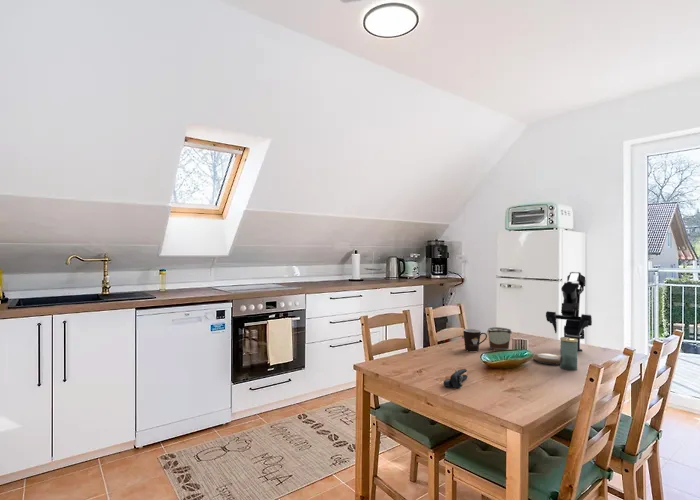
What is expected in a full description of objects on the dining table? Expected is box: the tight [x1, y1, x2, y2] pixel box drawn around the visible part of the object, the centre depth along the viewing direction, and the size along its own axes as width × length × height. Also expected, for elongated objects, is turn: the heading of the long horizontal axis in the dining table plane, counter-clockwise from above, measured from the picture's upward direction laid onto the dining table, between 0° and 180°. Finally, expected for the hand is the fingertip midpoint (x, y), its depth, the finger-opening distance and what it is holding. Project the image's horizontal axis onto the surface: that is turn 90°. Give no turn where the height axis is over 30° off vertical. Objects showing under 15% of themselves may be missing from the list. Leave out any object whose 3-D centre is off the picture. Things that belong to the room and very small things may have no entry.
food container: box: [486, 326, 513, 350], centre depth 221 cm, size 12×6×10 cm, turn 84°
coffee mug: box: [462, 328, 488, 352], centre depth 213 cm, size 12×9×10 cm
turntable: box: [532, 352, 560, 363], centre depth 194 cm, size 13×13×1 cm
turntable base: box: [535, 360, 560, 365], centre depth 194 cm, size 10×10×1 cm
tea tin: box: [559, 336, 578, 372], centre depth 184 cm, size 7×7×13 cm
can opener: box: [443, 368, 468, 389], centre depth 163 cm, size 18×7×6 cm, turn 146°
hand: (566, 334), depth 191 cm, fingers open, 9 cm apart
